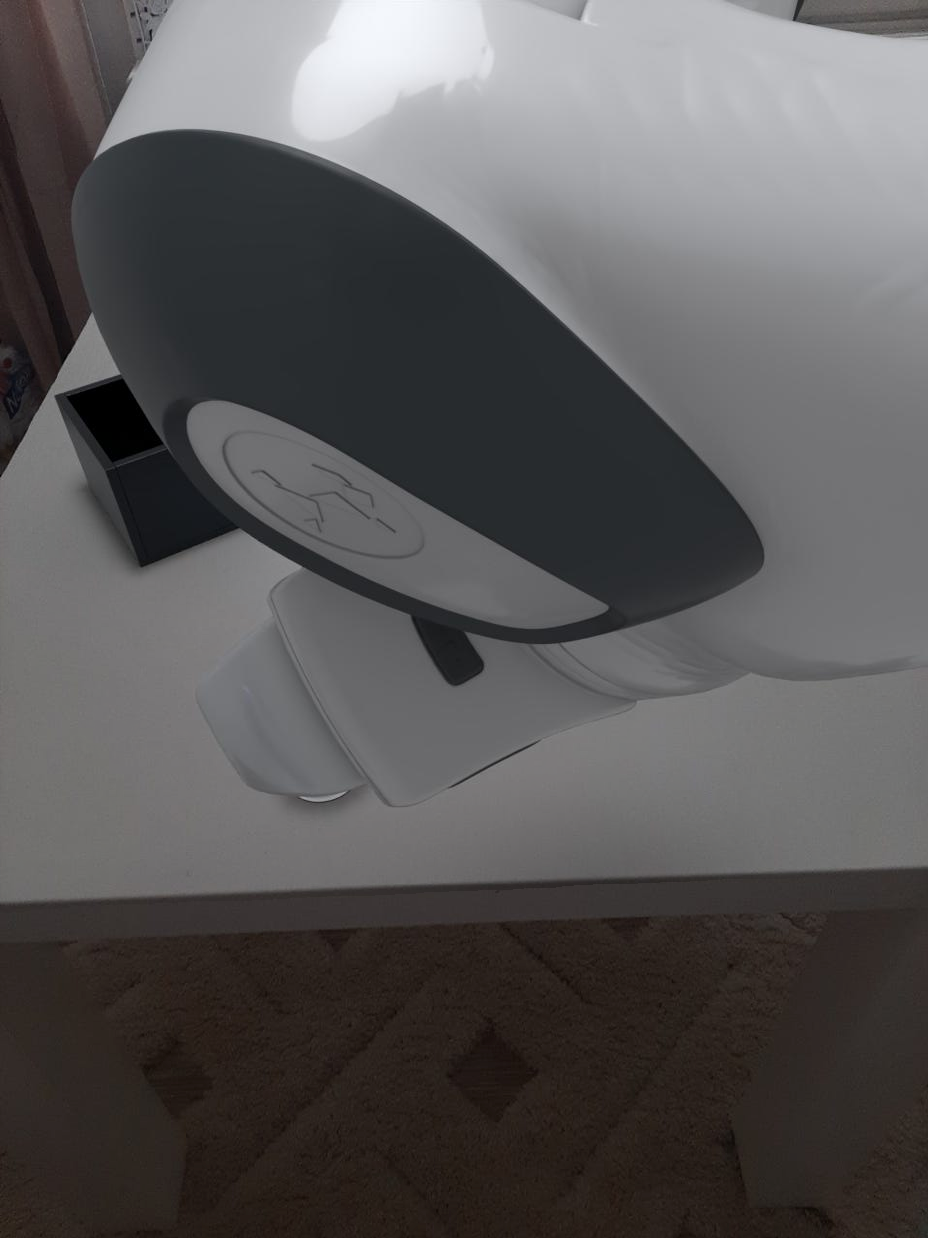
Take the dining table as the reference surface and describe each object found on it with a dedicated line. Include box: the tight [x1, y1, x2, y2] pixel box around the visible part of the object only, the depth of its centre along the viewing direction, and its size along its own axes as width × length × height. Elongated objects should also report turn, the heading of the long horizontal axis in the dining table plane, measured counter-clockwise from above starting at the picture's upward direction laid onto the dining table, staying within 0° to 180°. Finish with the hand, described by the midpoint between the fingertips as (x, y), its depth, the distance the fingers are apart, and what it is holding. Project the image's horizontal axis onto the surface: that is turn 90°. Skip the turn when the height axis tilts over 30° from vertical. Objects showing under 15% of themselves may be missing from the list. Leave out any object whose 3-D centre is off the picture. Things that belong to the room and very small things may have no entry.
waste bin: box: [53, 373, 240, 568], centre depth 80 cm, size 14×14×10 cm
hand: (410, 616), depth 38 cm, fingers open, 8 cm apart
